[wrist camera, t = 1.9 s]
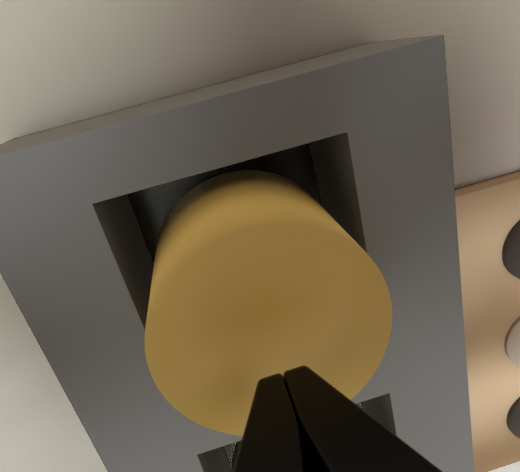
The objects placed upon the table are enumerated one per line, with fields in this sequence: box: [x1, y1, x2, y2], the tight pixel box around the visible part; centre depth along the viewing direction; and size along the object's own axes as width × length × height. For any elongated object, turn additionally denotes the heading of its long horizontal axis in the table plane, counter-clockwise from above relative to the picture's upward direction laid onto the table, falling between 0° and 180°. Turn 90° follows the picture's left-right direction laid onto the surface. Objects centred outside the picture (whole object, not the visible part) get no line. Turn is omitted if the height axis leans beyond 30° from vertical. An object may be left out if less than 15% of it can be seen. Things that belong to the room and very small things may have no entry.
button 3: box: [145, 170, 392, 436], centre depth 11 cm, size 5×5×4 cm
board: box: [0, 35, 474, 472], centre depth 16 cm, size 25×11×4 cm, turn 14°
